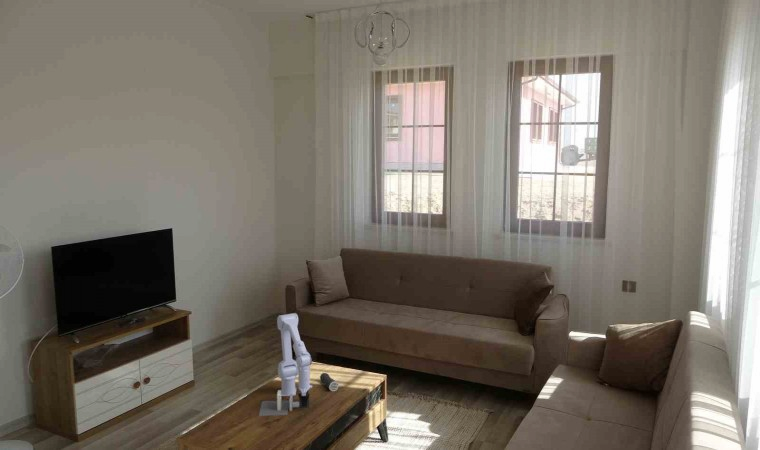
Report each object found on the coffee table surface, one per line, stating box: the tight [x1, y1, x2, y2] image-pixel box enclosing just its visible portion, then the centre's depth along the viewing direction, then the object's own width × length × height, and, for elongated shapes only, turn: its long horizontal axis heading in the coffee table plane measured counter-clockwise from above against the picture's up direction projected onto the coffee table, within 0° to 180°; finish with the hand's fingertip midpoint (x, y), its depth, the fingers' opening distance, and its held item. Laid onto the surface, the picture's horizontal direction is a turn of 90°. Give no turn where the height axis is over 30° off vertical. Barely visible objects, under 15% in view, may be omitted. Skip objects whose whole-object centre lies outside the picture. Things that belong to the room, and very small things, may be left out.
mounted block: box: [289, 394, 310, 412], centre depth 287 cm, size 8×10×6 cm
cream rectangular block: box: [276, 389, 282, 410], centre depth 286 cm, size 6×2×8 cm, turn 6°
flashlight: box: [319, 372, 340, 392], centre depth 314 cm, size 15×5×5 cm, turn 28°
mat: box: [258, 399, 290, 417], centre depth 286 cm, size 16×14×1 cm
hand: (304, 403), depth 287 cm, fingers open, 7 cm apart
